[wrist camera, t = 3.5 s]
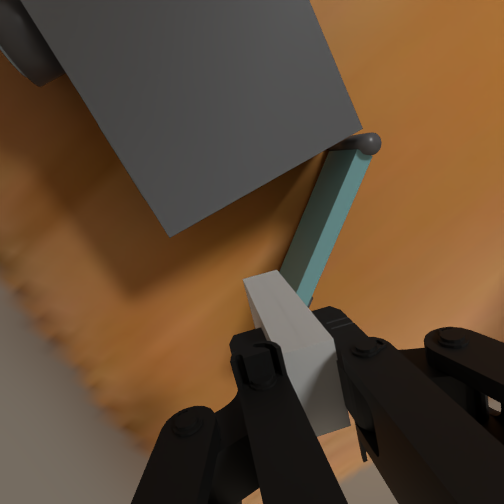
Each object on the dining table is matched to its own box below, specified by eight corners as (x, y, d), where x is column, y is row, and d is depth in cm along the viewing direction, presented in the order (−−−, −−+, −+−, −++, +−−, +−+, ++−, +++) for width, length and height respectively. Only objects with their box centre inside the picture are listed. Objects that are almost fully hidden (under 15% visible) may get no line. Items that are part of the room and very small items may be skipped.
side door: (261, 306, 28) (277, 338, 23) (332, 135, 26) (366, 129, 21) (284, 314, 28) (304, 347, 23) (356, 145, 26) (395, 142, 21)
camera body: (-39, -44, 20) (-133, -129, 14) (191, -169, 21) (192, -301, 15) (145, 239, 25) (132, 264, 20) (328, 136, 26) (369, 129, 20)
